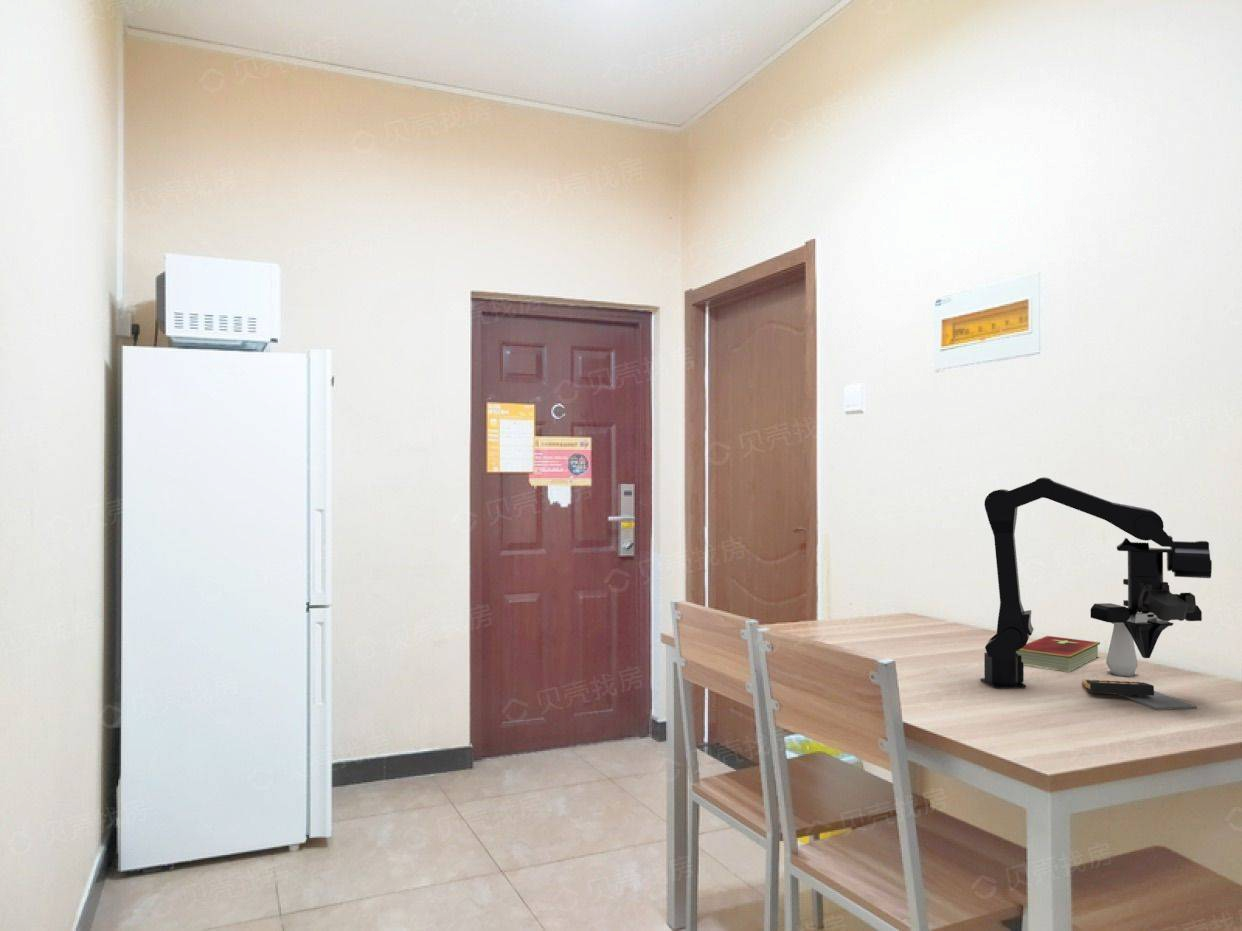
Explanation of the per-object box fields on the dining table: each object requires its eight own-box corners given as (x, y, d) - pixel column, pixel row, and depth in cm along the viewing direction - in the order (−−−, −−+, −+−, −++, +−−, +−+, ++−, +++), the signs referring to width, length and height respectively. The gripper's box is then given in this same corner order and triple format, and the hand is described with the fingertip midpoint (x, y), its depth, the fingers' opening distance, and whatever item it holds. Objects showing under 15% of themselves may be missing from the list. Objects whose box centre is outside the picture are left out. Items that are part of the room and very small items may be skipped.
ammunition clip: (1090, 682, 165) (1077, 676, 176) (1090, 692, 165) (1078, 685, 176) (1153, 685, 162) (1137, 678, 173) (1154, 695, 161) (1137, 688, 173)
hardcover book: (1012, 665, 193) (1012, 647, 193) (1045, 651, 208) (1045, 634, 208) (1070, 674, 185) (1069, 655, 185) (1100, 659, 200) (1100, 641, 200)
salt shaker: (1106, 675, 182) (1106, 614, 182) (1105, 669, 187) (1105, 610, 187) (1138, 678, 179) (1138, 616, 179) (1136, 672, 184) (1136, 612, 184)
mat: (1155, 709, 156) (1155, 707, 156) (1112, 692, 168) (1112, 690, 168) (1197, 708, 157) (1197, 706, 157) (1150, 691, 169) (1150, 689, 169)
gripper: (1127, 581, 154) (1128, 668, 154) (1224, 580, 155) (1225, 666, 155) (1088, 574, 165) (1089, 655, 165) (1179, 572, 166) (1180, 653, 166)
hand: (1145, 657), depth 162 cm, fingers closed
